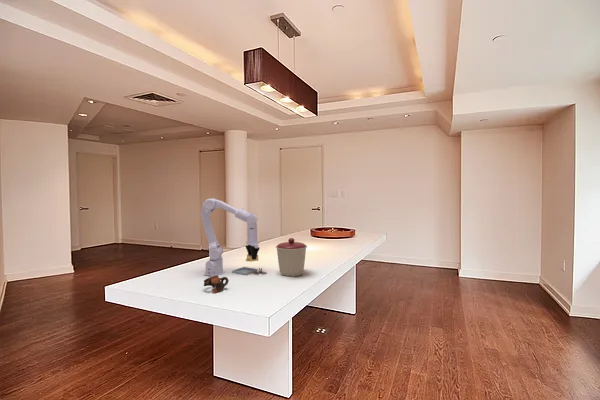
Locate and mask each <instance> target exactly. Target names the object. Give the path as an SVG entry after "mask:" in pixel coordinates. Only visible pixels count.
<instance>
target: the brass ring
mask: <svg viewBox="0 0 600 400" xmlns="http://www.w3.org/2000/svg"><path fill="white" fill-rule="evenodd" d="M258 261H259V255H258V254H257V258H256V259H255V260H252V254H248V253H247V254H246V259H245V262H251V263H252V262H258Z"/></svg>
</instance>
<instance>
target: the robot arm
mask: <svg viewBox="0 0 600 400" xmlns="http://www.w3.org/2000/svg"><path fill="white" fill-rule="evenodd" d="M215 209H216V210H217V209H218V210H219V209H222V210H224V211H227V212H228V213H231V214H233V215H234V217H235V218H236V219H238V220H240V221H243V222H245V223H246V224H247V227H246V228H247V229H246V230H247V231H246V232H247V233H246V235H247V239H246V245H245V248H246V251H247V255H248V254H252V260H255V259H256V258H257V255H258V253H259V250H260V249H261V248H260V247H259V244H260V242H259V241H258V224H257V222H258V217H257V215H256V214H254V213H252V212H250V211H249V212H248V211H247V210H245V209H244V208H243V207H242V208H235V207H233V206H232V205H229V204H227V203H226V202H225V201H222V200H219V199H217V198H215V197H214V198H213V197H211V198H207V199H205V200H204V202H203V203H202V206H201V210H200V213H199V214H200V219H201V223H202V225H203V229H204V232H205V236H206V238H207V243H208V252H209V253H208V256H209V260H208V261H206V262H205V273H204V275H205V276H207V277H212V276H216V275H218V276H220V275H223V274H226V273H227V272H225V271H223V270H224V269H223V267H224V265H223V262H224V259H223V256H222V255H223V253H224V250H223V248H222V246H221V245H220V243H219V241H218V239H217V235H216V232H215V228H214V226H213V222H212V218H211V215H212V213H213V211H214V210H215Z"/></svg>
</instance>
